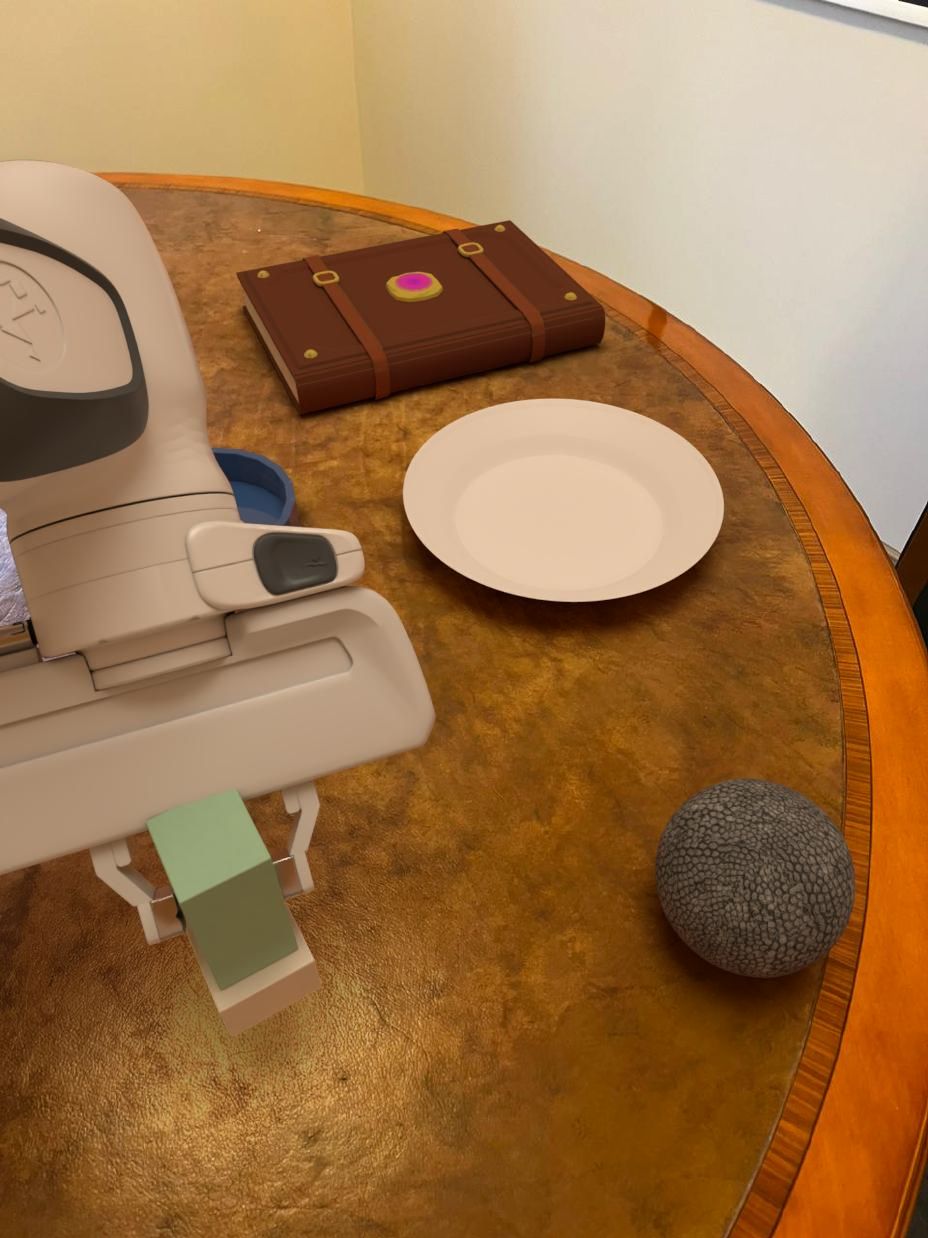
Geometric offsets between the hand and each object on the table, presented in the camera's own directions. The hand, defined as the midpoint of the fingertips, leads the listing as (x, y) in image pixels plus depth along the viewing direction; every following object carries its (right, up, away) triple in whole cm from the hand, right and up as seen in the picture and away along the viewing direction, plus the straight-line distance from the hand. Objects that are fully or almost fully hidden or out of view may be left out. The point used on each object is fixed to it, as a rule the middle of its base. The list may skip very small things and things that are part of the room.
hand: (234, 913), depth 39 cm
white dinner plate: (+17, +20, +37) cm, 46 cm away
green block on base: (0, -4, +5) cm, 6 cm away
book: (+5, +42, +58) cm, 72 cm away
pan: (-11, +19, +36) cm, 42 cm away
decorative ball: (+25, -5, +14) cm, 29 cm away
